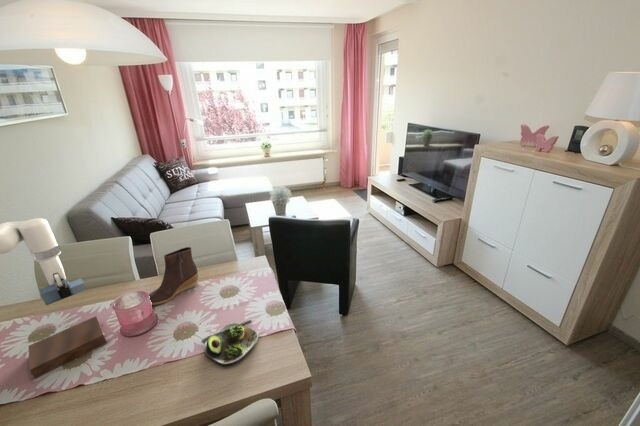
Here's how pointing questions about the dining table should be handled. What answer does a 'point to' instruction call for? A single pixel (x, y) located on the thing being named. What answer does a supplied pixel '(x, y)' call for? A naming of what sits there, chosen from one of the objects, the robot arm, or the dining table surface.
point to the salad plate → (230, 343)
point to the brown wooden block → (65, 346)
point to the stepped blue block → (53, 296)
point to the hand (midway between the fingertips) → (65, 293)
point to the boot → (176, 276)
